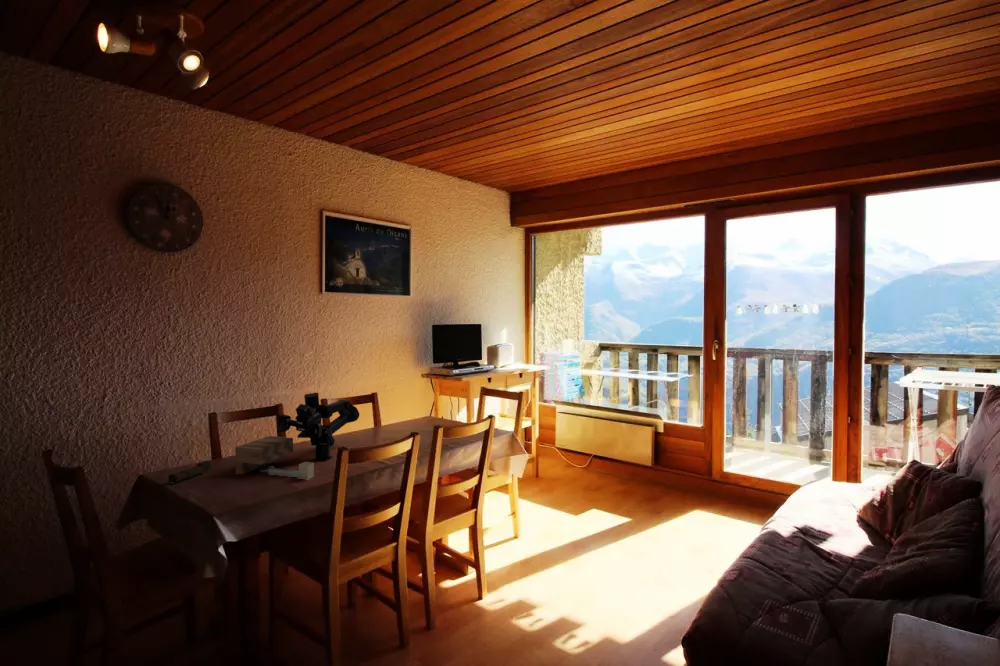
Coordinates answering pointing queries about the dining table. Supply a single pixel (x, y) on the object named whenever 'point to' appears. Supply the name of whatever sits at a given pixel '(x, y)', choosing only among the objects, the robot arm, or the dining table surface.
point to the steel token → (265, 468)
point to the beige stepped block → (261, 452)
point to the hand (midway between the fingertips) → (287, 434)
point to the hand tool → (191, 472)
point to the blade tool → (304, 471)
